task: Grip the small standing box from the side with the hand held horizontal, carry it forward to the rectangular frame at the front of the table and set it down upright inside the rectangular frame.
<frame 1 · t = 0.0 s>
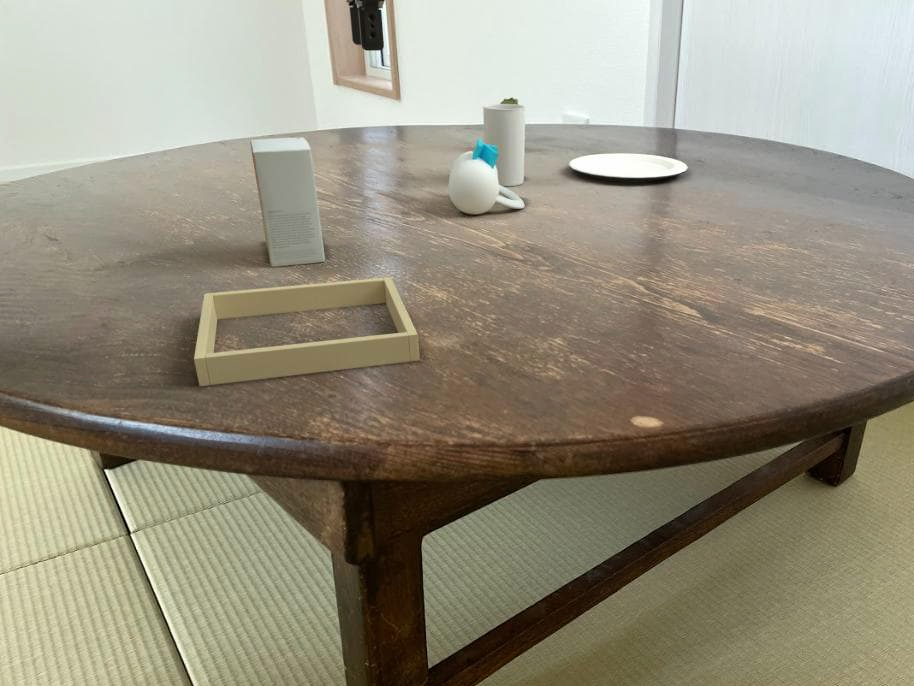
hand: (367, 47, 84), 23 cm above the table, tool pointing down, fingers open, 8 cm apart
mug: (501, 181, 134), on the table
plate: (627, 174, 141), on the table
pear: (510, 152, 159), on the table
small box: (295, 257, 96), on the table
mug 2: (487, 210, 117), on the table
rectangular frame: (308, 343, 72), on the table
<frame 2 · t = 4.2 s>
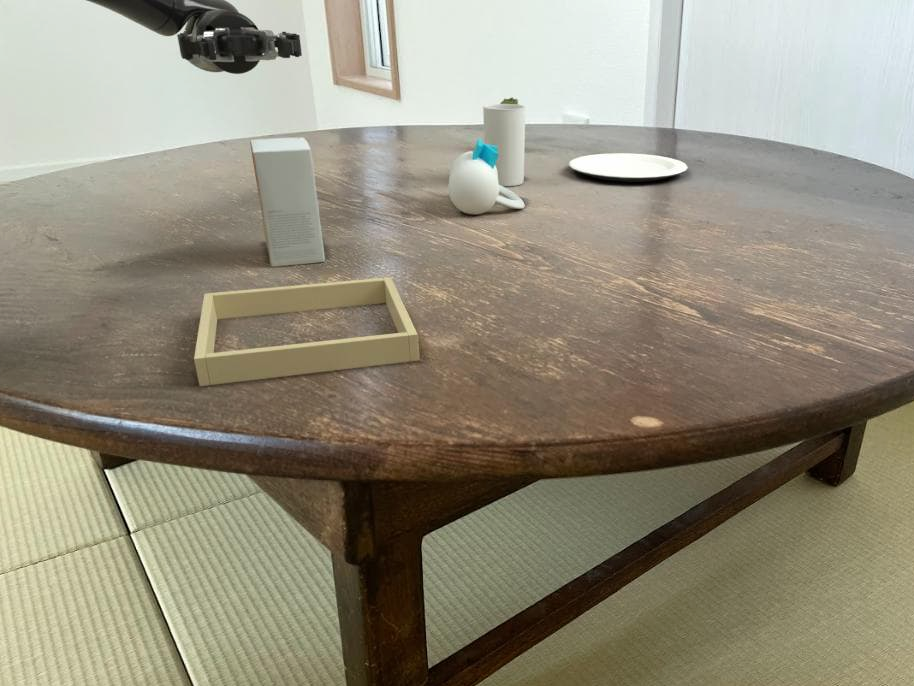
hand: (249, 49, 94), 22 cm above the table, tool horizontal, fingers open, 8 cm apart
nothing on the table moved.
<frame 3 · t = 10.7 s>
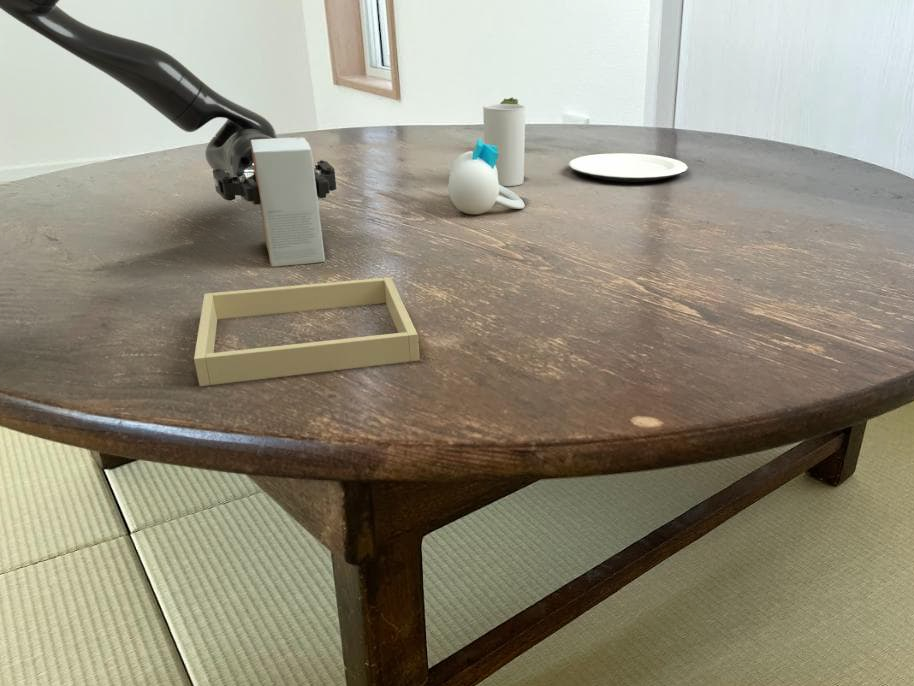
hand: (289, 192, 91), 8 cm above the table, tool horizontal, fingers closed on small box, 7 cm apart
small box: (295, 257, 96), on the table, touching gripper
everything else where it was.
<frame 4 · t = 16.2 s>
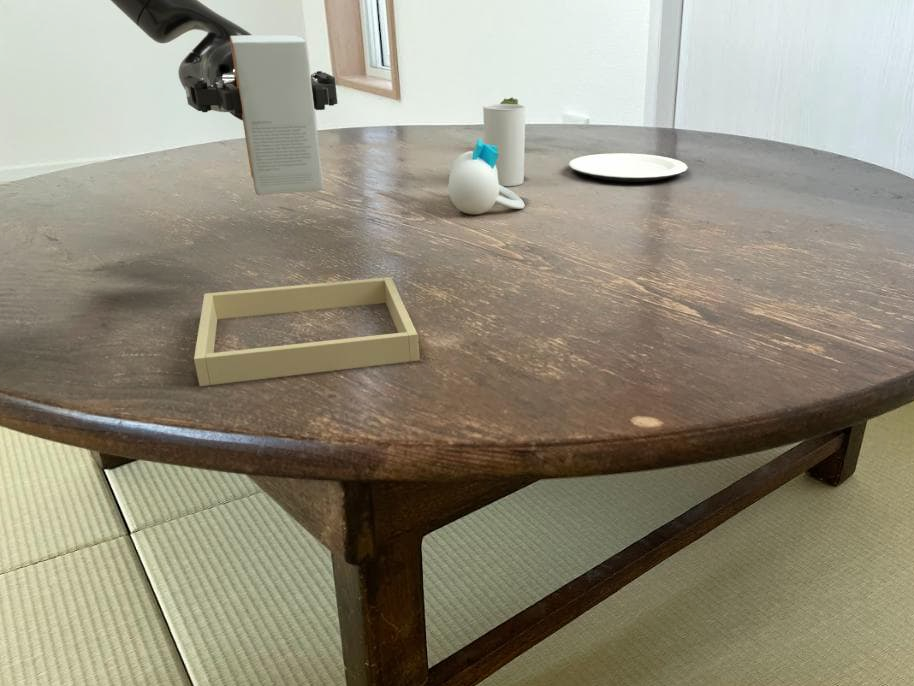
hand: (279, 100, 72), 20 cm above the table, tool horizontal, fingers closed on small box, 7 cm apart
small box: (286, 186, 78), point 11 cm above the table, touching gripper
everything else where it was.
when the fingers open (9 cm above the table, at t = 21.8 s): small box stays where it is, resting on rectangular frame.
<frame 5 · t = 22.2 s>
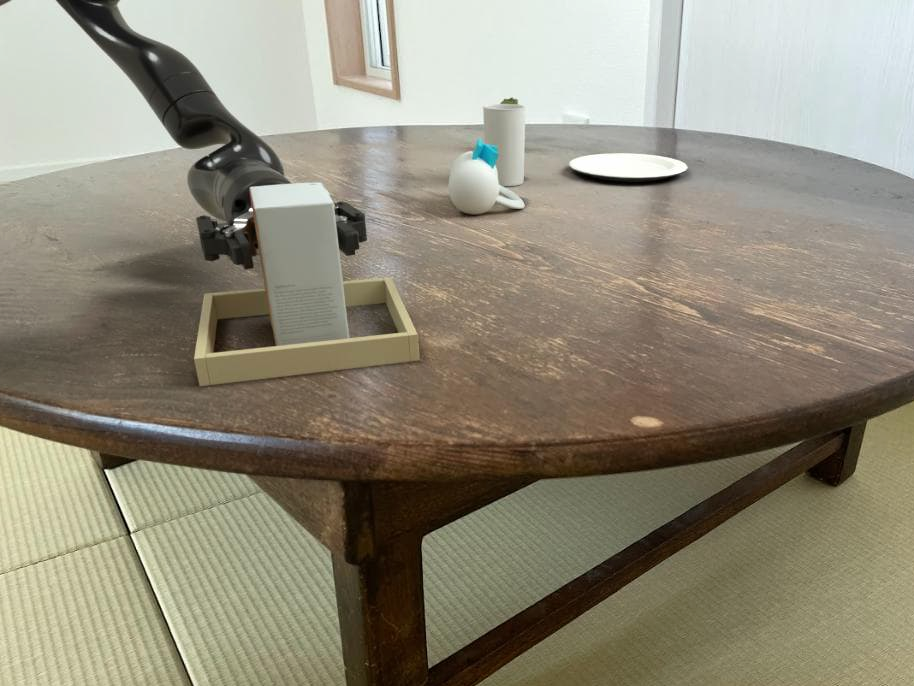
hand: (300, 250, 67), 9 cm above the table, tool horizontal, fingers open, 8 cm apart
small box: (309, 339, 72), resting on rectangular frame
everything else where it was.
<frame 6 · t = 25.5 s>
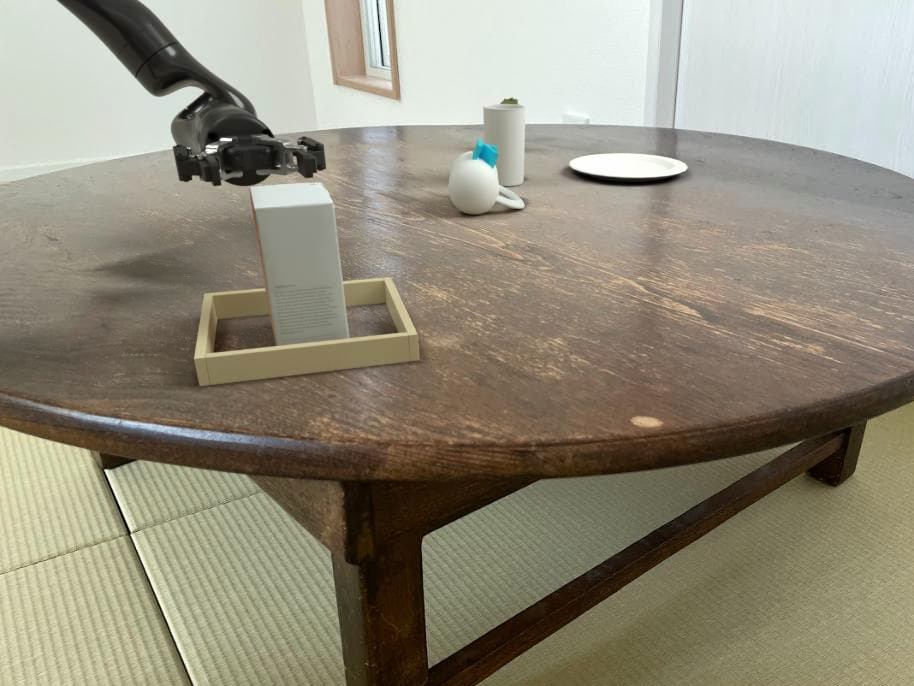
hand: (263, 171, 75), 13 cm above the table, tool horizontal, fingers open, 8 cm apart
nothing on the table moved.
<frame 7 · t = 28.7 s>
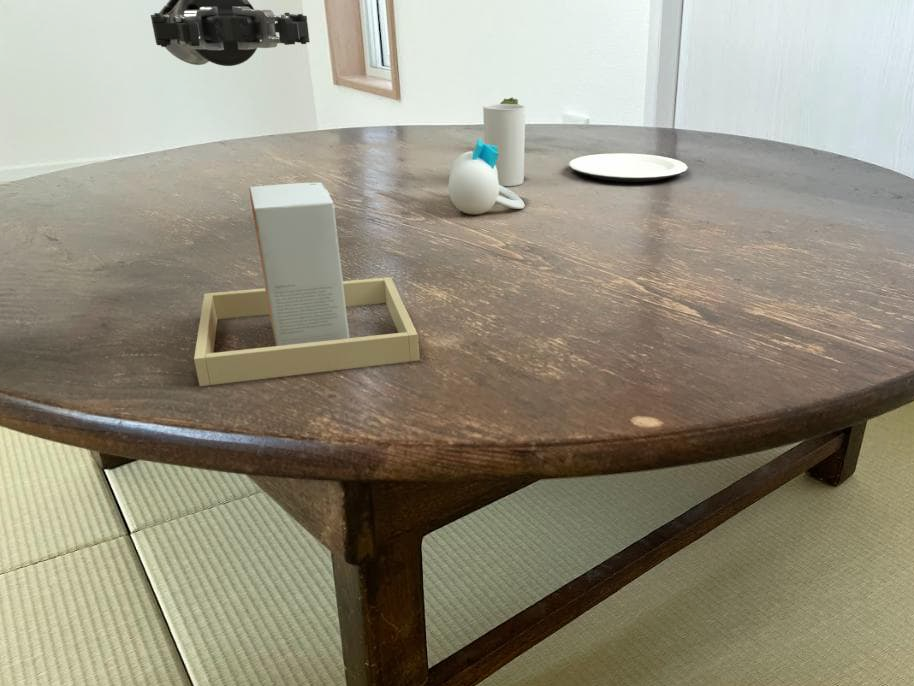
hand: (242, 32, 73), 25 cm above the table, tool horizontal, fingers open, 8 cm apart
nothing on the table moved.
at the end: small box inside the target area in the rectangular frame (0.1 cm from its centre), point 0.3 cm above the rectangular frame's base; small box tilted 0°; the gripper is holding nothing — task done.
